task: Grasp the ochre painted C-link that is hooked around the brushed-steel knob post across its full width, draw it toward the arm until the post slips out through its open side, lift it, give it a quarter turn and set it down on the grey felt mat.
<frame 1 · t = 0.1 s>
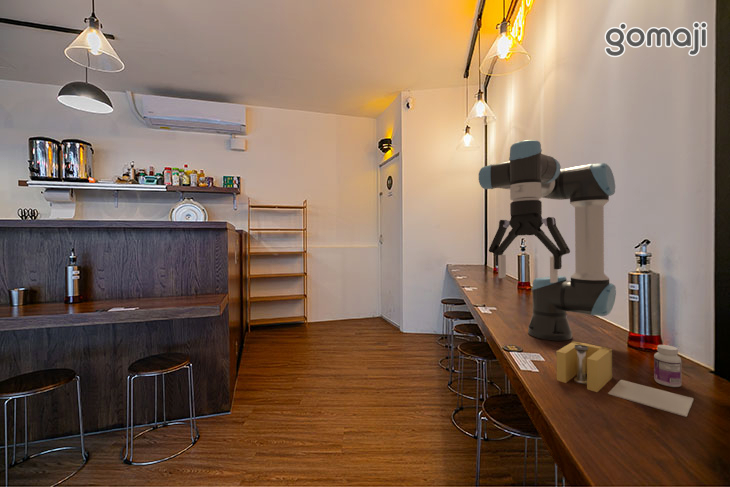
hand: (526, 280, 88), 28 cm above the countertop, fingers open, 13 cm apart
felt mat: (650, 396, 80), on the countertop
c link: (584, 378, 90), on the countertop
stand: (581, 381, 89), on the countertop
pill bottle: (667, 383, 87), on the countertop
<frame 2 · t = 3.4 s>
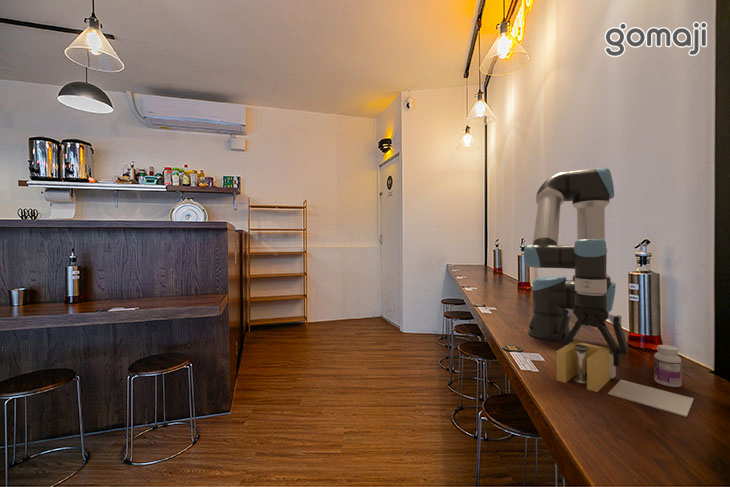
hand: (591, 371, 94), 1 cm above the countertop, fingers closed on c link, 9 cm apart
c link: (584, 378, 90), on the countertop, touching gripper
everything else where it was.
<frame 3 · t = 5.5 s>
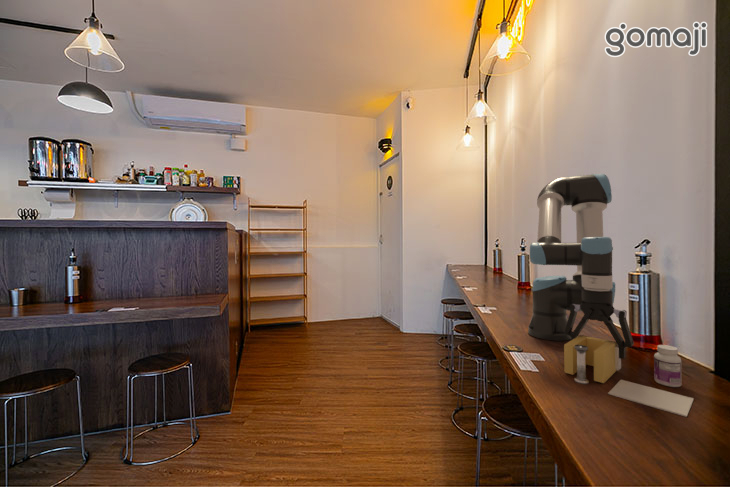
hand: (597, 363, 98), 1 cm above the countertop, fingers closed on c link, 9 cm apart
c link: (591, 370, 94), on the countertop, touching gripper
everything else where it was.
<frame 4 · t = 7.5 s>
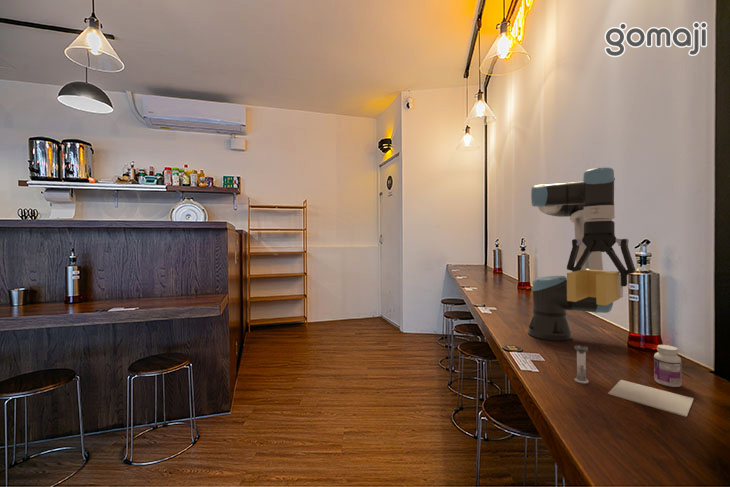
hand: (599, 295, 99), 21 cm above the countertop, fingers closed on c link, 9 cm apart
c link: (593, 299, 95), point 21 cm above the countertop, touching gripper
everything else where it was.
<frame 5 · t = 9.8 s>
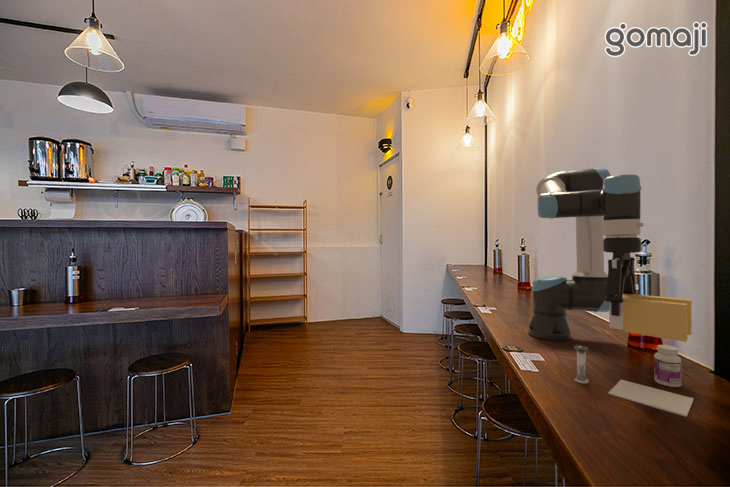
hand: (622, 324, 84), 17 cm above the countertop, fingers closed on c link, 9 cm apart
c link: (651, 331, 79), point 16 cm above the countertop, touching gripper
everything else where it was.
when the fingers open (2 cm above the countertop, at t = 11.8 s): c link stays where it is, resting on felt mat.
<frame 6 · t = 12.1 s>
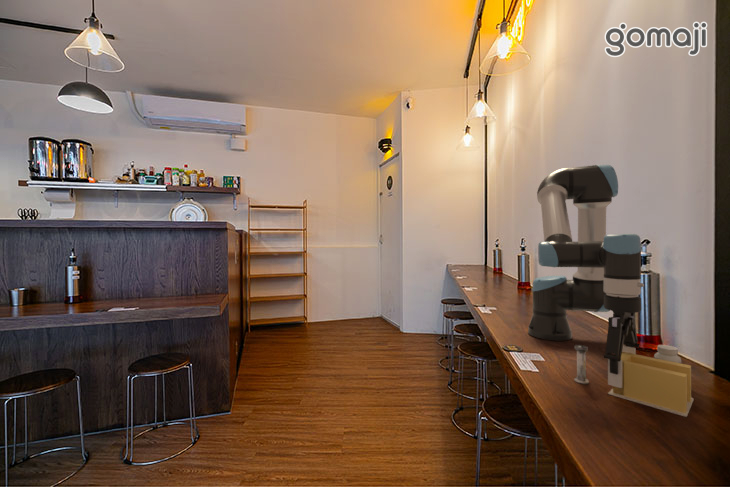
hand: (622, 378, 84), 3 cm above the countertop, fingers open, 12 cm apart
c link: (651, 395, 80), resting on felt mat
everything else where it was.
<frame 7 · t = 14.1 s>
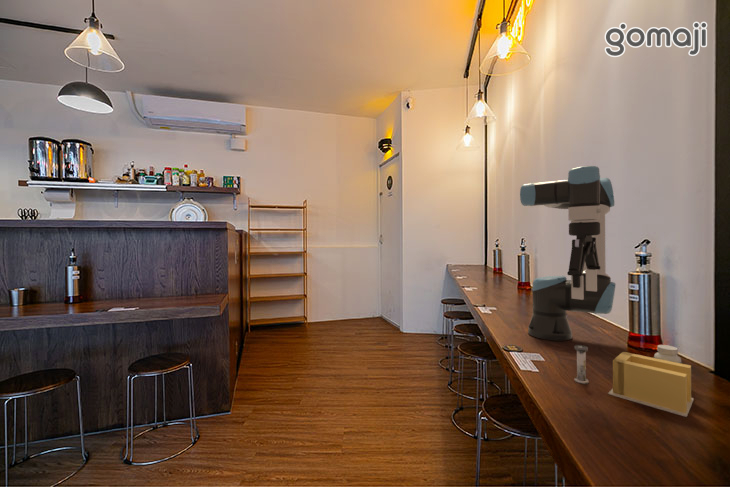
hand: (584, 294, 95), 22 cm above the countertop, fingers open, 13 cm apart
nothing on the countertop moved.
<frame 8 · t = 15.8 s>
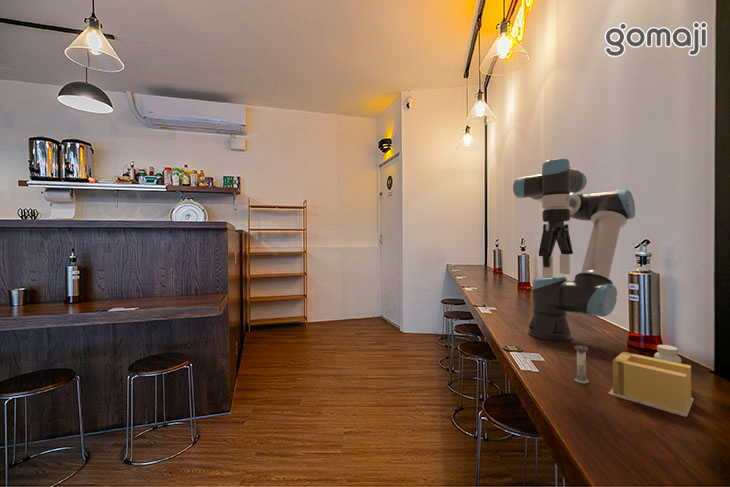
hand: (556, 275, 104), 27 cm above the countertop, fingers open, 13 cm apart
nothing on the countertop moved.
at the end: c link inside the target area (0.3 cm from its centre), resting on felt mat; c link touching felt mat; c link tilted 0° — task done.
